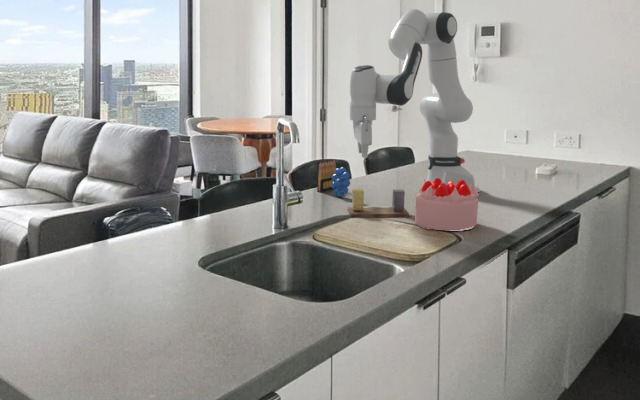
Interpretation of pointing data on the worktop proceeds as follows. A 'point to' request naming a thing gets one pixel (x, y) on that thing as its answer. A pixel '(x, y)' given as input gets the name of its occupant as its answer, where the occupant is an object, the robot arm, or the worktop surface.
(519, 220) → the worktop surface
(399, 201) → the grey rectangular block
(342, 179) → the grapes
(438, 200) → the cake
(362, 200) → the wooden block
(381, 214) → the brown flat rectangular board
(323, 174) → the ammunition clip
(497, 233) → the worktop surface
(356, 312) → the worktop surface
